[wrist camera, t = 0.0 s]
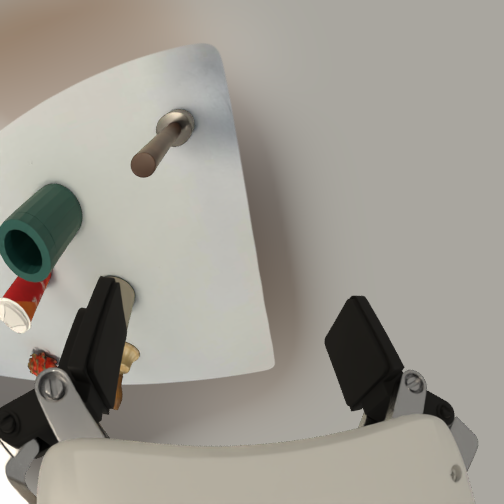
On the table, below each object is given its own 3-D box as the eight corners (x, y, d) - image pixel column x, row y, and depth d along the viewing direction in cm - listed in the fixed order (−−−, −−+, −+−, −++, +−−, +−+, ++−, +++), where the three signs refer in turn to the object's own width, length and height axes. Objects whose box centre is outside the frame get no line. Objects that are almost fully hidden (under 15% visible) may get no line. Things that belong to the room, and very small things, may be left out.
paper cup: (45, 289, 45) (20, 339, 33) (21, 264, 40) (-10, 312, 29) (62, 273, 43) (34, 327, 32) (36, 246, 39) (1, 296, 28)
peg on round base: (164, 107, 31) (114, 132, 15) (197, 110, 32) (178, 136, 16) (160, 138, 34) (112, 193, 17) (191, 141, 34) (171, 198, 18)
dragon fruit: (31, 347, 57) (61, 348, 61) (38, 373, 57) (68, 375, 60) (18, 355, 49) (50, 357, 52) (27, 383, 49) (59, 386, 52)
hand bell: (126, 338, 55) (116, 399, 42) (146, 357, 60) (140, 415, 47) (101, 343, 55) (88, 401, 42) (120, 362, 60) (112, 416, 47)
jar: (31, 183, 33) (-10, 217, 23) (79, 184, 35) (42, 221, 25) (39, 235, 38) (8, 277, 28) (85, 240, 40) (57, 286, 30)
